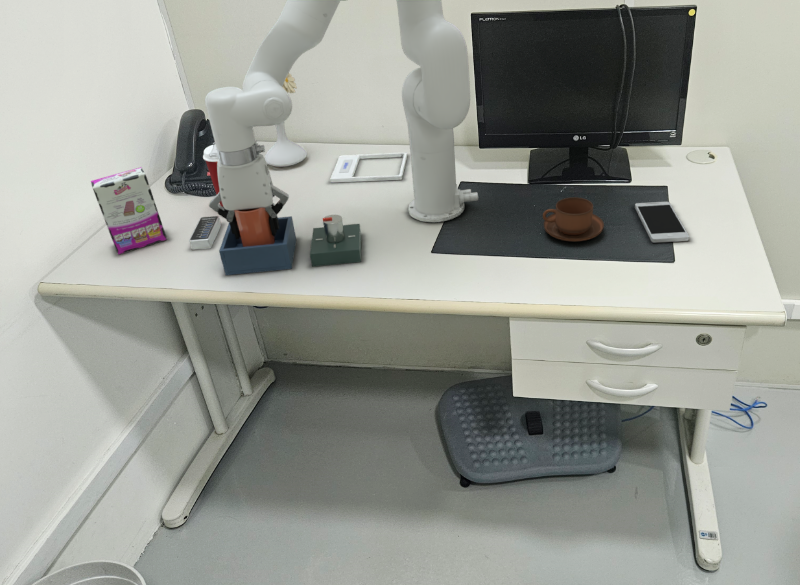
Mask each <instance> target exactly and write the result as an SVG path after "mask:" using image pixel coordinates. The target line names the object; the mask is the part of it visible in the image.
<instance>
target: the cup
mask: <svg viewBox="0 0 800 585" xmlns="http://www.w3.org/2000/svg"><path fill="white" fill-rule="evenodd" d="M234 213H235V214H234V215H235V219H236V223H237V227H238V231H239V235H240V239H241V243H242V246H243V247H247V246H257V245H267V244H274V243H275V236H273V235H272V232H271V228H270V223H269V217H270V215H269V214H268V213H267V211H266V210H265V208H264V207H261V208H256V209H246V210H234Z"/></svg>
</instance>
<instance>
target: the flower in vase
mask: <svg viewBox="0 0 800 585" xmlns="http://www.w3.org/2000/svg"><path fill="white" fill-rule="evenodd" d="M295 81H296V79H295V77H293V76H292V73H290V72H289V73H288V75H287V77H286V79H285V81H284V84H283V86H282V87H283V89H284V90H285V91H286V92H287V93H288V94H294V93H296V90H295V89H298V87H297V84H296V82H295ZM274 127H275V130H276V135H277V139H276V141H275V143H274V144H273V145H272V146H271V147H270V148H269V149H268V150H267V152H266V153H265V155H264V159H265V161H266V164H267V165H269V166H272V167H283V168H284V167H291V166H295V165H297V164H298V163H301V162H303V161H304V160H305V159H306V157H307V155H308V152H307V150H306V148H304V147H303V146H301V145H300V144H299V143H296V142H295V141H293V140H291V139H289V137H288V136H287V132H286V127H285V121H284V122H282V123H280V124H278V125H274Z"/></svg>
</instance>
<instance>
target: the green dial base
mask: <svg viewBox="0 0 800 585" xmlns="http://www.w3.org/2000/svg"><path fill="white" fill-rule="evenodd" d="M343 227H344V234H345V238H344V240H342V241H340V242H337V243H330V242H327V241H326V237H325V232H324V226H322V227H313V229H312V234H311V242H310V250H309V257H310V262H311V267H312V268H313V267H323V266H332V265H342V264H343V265H344V264H352V263H355V264H356V263H361V262H362V232H361V224H360V223H352V224H343Z"/></svg>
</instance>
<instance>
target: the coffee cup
mask: <svg viewBox="0 0 800 585" xmlns="http://www.w3.org/2000/svg"><path fill="white" fill-rule="evenodd" d="M202 158H203V160H204V161H205V163H206V166H207V170H208V173H209V176H210V179H211V182H212V186H213V187H214V191H215V194H216V195H217V194H218V193H219V192H220V189H219V182H218V173H217V162H218V160H219V157H218V153H217V148H216V144H215V143H214V144H211V145H209V146H207V147H205V149H204V150H203V155H202ZM219 204H220V205H221V206H223V204H222V200H221V201H220V202H219Z"/></svg>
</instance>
